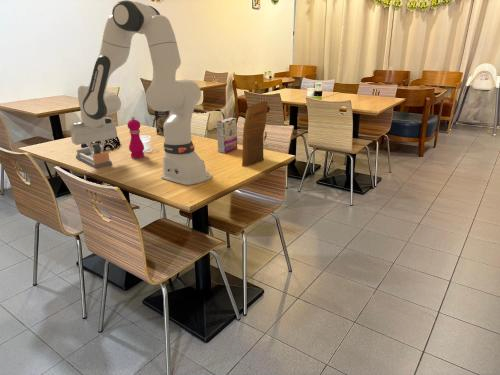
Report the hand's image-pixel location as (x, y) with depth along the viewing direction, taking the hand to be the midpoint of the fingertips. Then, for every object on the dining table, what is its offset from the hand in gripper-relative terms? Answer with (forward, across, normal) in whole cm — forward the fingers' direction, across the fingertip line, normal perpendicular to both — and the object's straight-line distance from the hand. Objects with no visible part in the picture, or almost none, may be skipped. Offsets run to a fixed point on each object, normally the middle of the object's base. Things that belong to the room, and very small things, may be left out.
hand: (97, 150), depth 177 cm
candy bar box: (+7, +58, -26) cm, 64 cm away
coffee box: (+7, +56, +30) cm, 64 cm away
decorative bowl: (+7, +15, +30) cm, 34 cm away
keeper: (+5, 0, 0) cm, 5 cm away
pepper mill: (+7, +19, -2) cm, 20 cm away
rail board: (+6, 0, +6) cm, 9 cm away
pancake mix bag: (+7, +53, -51) cm, 74 cm away
